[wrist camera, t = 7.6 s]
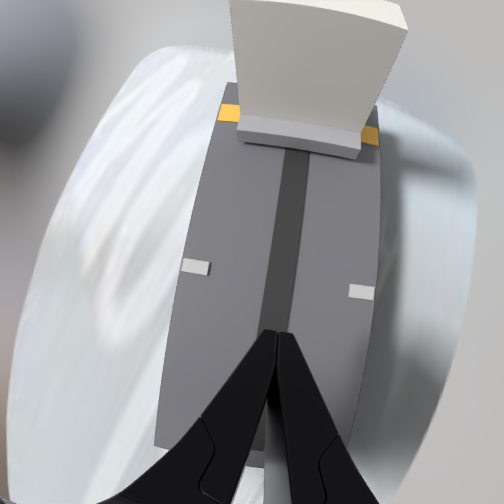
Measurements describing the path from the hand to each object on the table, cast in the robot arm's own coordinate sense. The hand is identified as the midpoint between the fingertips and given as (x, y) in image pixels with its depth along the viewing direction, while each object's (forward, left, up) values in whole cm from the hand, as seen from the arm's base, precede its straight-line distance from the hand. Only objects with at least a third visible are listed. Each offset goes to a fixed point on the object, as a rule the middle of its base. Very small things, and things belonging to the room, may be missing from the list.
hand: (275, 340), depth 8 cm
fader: (+8, -7, -4) cm, 12 cm away
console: (+3, -2, -7) cm, 8 cm away
